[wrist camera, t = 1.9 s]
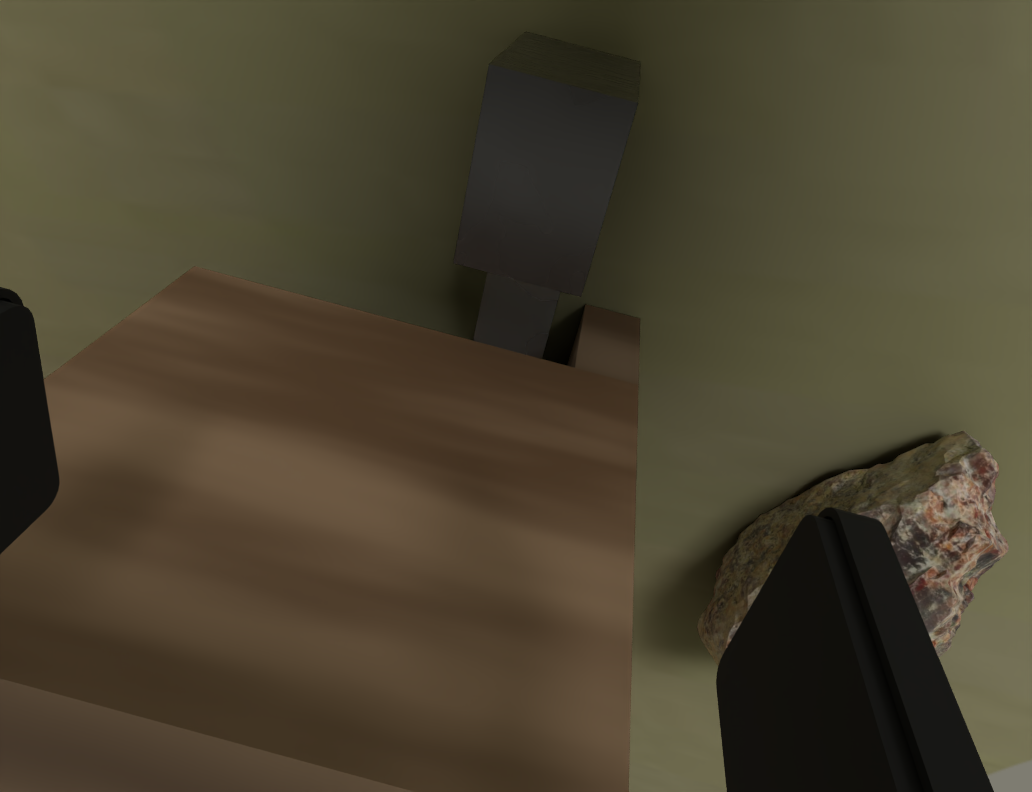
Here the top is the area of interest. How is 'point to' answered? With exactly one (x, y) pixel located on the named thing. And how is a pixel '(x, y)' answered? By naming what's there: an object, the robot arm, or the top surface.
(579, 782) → the cabinet
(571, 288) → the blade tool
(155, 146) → the top surface
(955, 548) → the rock
